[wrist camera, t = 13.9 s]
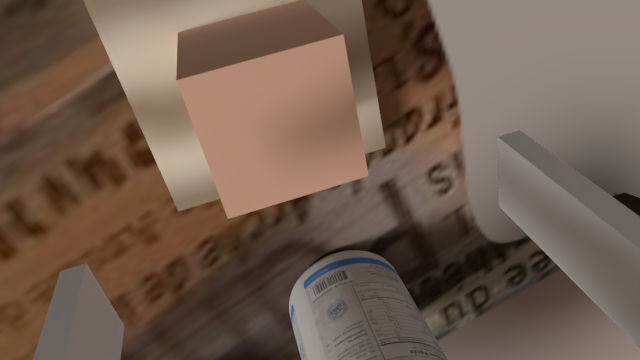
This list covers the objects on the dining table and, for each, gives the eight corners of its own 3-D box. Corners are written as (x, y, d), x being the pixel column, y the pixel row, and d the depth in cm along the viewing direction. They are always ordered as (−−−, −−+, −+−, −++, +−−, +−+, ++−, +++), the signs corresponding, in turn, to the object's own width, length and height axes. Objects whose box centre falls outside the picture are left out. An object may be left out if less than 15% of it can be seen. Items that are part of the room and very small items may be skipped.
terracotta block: (217, 146, 30) (228, 218, 24) (177, 32, 27) (176, 80, 20) (328, 114, 31) (368, 175, 24) (303, -2, 27) (343, 34, 21)
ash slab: (86, -24, 27) (76, -15, 25) (333, -89, 28) (347, -87, 26) (178, 187, 35) (178, 211, 32) (371, 129, 36) (385, 147, 33)
